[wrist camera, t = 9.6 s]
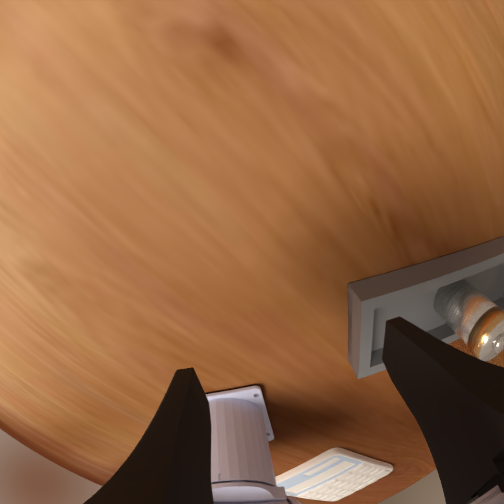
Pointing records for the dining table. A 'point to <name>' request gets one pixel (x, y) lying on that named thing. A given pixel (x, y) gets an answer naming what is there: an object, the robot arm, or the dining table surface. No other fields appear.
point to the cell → (472, 318)
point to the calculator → (332, 475)
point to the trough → (416, 299)
